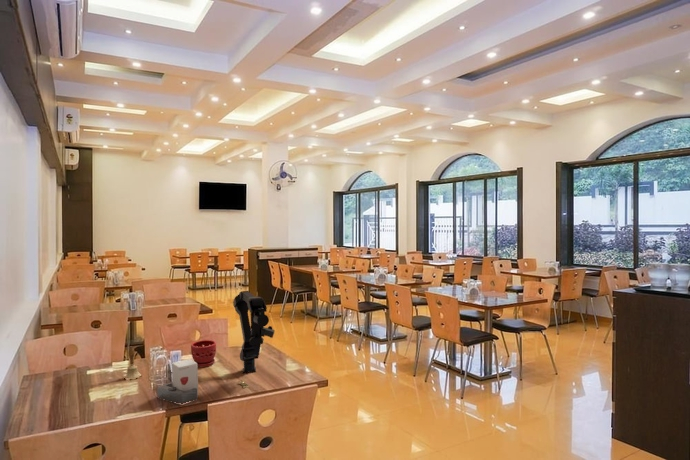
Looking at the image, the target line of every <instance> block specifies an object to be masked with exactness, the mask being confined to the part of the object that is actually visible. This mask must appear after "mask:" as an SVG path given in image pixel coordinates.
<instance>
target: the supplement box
mask: <svg viewBox="0 0 690 460" xmlns="http://www.w3.org/2000/svg"><path fill="white" fill-rule="evenodd" d="M198 368H199V367H197V363H196V362H195V361H194V360H193V358H188V359H183V360H179V361H173V362H172V363H171V379H172V380H171V382H172V387H176V389H179V390H182V391H188V390H190V389H193V388H197V397H198V396H199V380H198V379H199V377H198V373H199V371H198Z"/></svg>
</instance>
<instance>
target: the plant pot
mask: <svg viewBox="0 0 690 460" xmlns="http://www.w3.org/2000/svg"><path fill="white" fill-rule="evenodd" d="M190 353H191V358H192V360H193V361H195V362H196V363H197V367H198V368H207V367H209V366H212V365H214V364H215V362H216V359H215V356H216V353H217V342H216V341H215V340H212V339H211V340H210V339H205V340H204V339H203V340H197V341H194V342H192V343H191V345H190Z"/></svg>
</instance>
